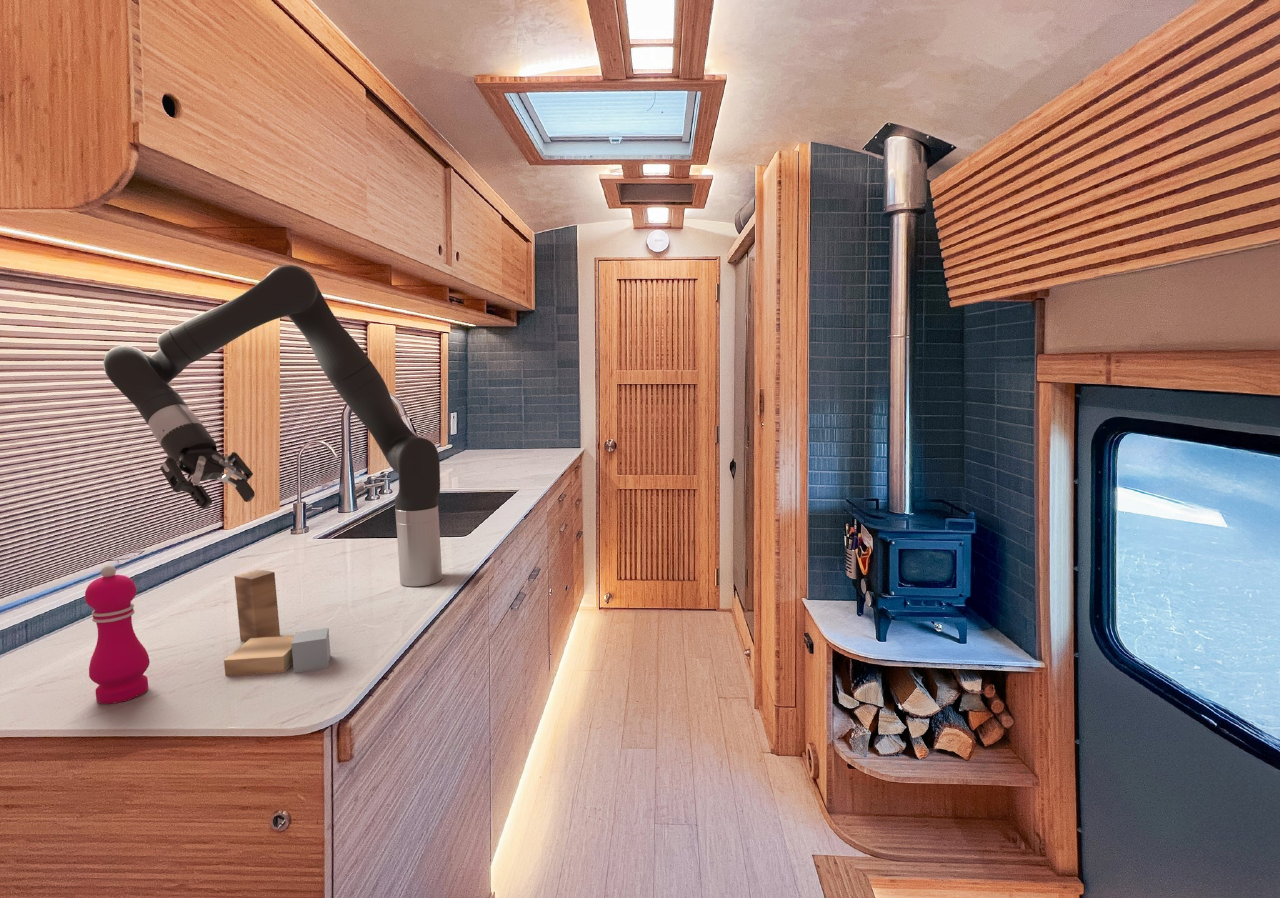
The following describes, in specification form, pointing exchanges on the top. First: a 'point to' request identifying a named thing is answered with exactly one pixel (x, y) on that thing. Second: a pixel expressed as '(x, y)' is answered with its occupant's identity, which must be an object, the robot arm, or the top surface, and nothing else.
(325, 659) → the slate block
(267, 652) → the oak base
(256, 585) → the walnut pillar
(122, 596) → the pepper mill
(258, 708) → the top surface
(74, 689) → the top surface
